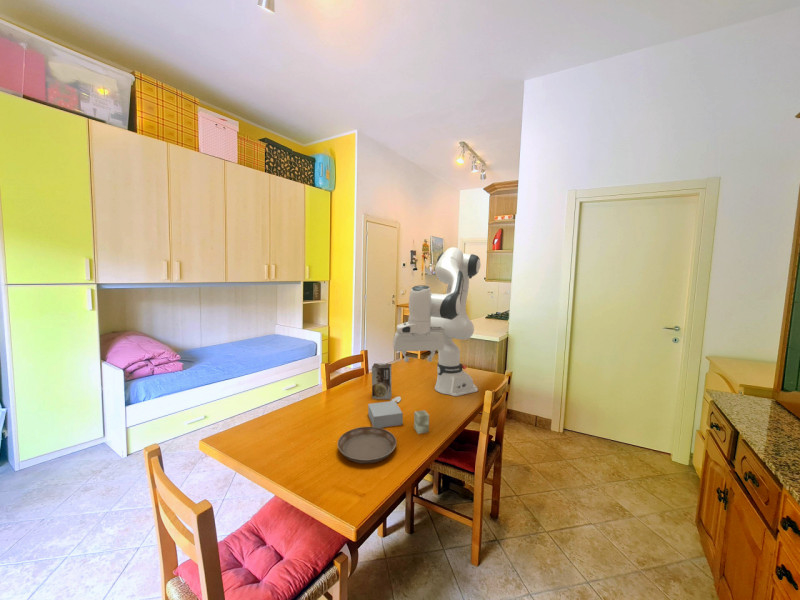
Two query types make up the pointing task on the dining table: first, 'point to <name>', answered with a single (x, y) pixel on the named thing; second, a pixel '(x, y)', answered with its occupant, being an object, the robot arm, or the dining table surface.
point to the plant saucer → (367, 444)
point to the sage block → (421, 421)
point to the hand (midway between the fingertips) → (418, 361)
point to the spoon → (396, 399)
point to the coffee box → (381, 381)
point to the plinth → (385, 414)
